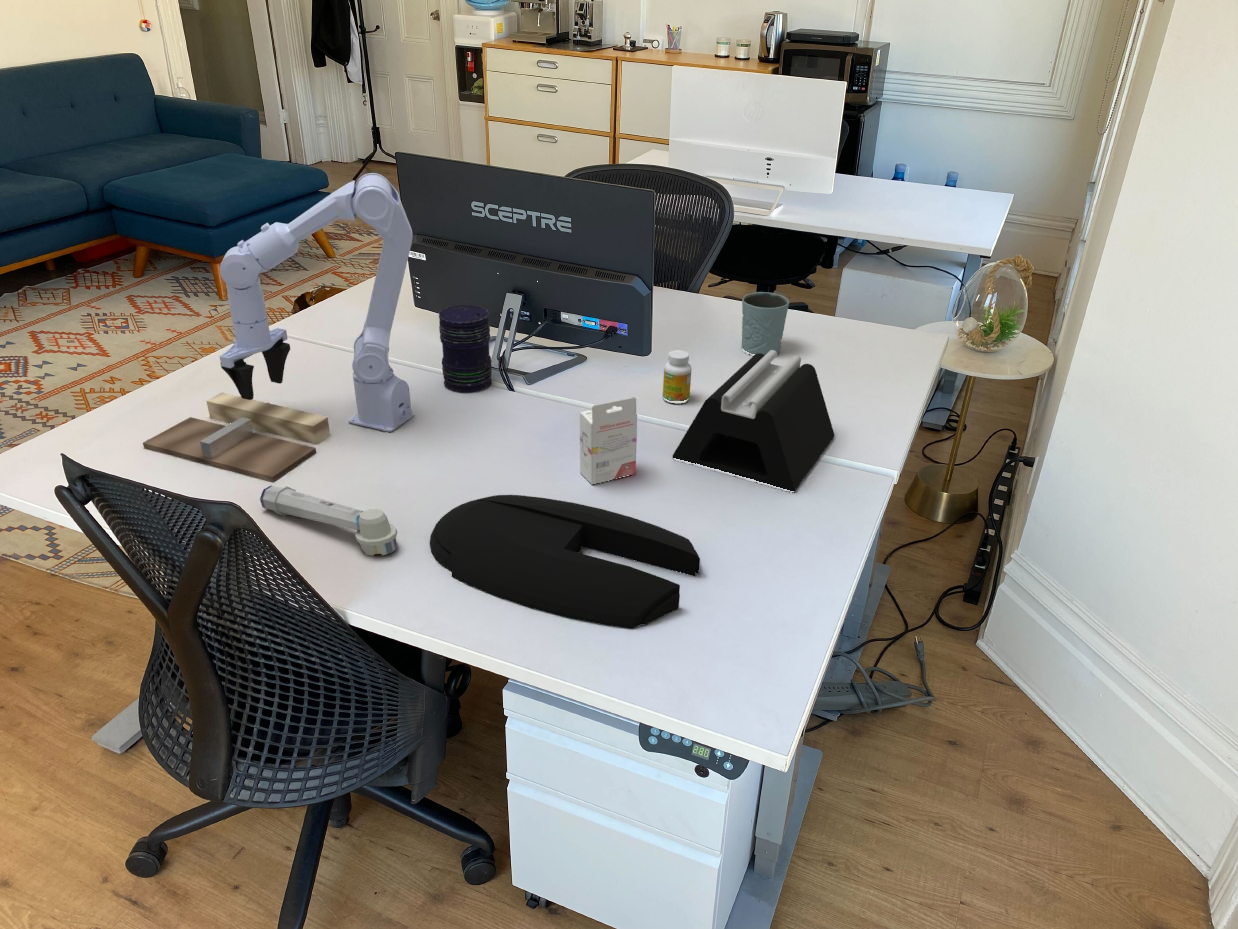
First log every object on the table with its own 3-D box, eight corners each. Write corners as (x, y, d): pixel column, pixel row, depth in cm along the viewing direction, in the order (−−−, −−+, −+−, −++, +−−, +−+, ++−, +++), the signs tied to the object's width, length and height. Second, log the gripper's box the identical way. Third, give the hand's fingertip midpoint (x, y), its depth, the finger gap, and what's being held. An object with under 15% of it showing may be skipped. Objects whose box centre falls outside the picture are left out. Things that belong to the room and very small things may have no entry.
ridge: (253, 434, 163) (250, 419, 162) (212, 459, 155) (209, 443, 154) (244, 432, 164) (241, 417, 163) (203, 456, 156) (199, 441, 155)
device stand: (833, 440, 170) (845, 365, 163) (794, 495, 153) (805, 414, 145) (721, 412, 179) (728, 340, 172) (672, 461, 162) (677, 383, 154)
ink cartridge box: (622, 462, 160) (625, 385, 153) (636, 475, 156) (639, 397, 149) (578, 472, 157) (578, 394, 149) (591, 486, 153) (592, 407, 146)
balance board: (316, 452, 160) (315, 447, 160) (273, 482, 151) (272, 476, 151) (191, 421, 169) (190, 417, 169) (143, 447, 160) (142, 442, 160)
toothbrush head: (279, 478, 145) (398, 503, 134) (290, 514, 148) (407, 542, 137) (253, 493, 141) (373, 520, 130) (264, 530, 144) (383, 560, 133)
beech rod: (330, 436, 166) (327, 417, 164) (316, 446, 163) (313, 426, 161) (226, 411, 174) (222, 392, 172) (210, 420, 171) (206, 400, 169)
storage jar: (436, 391, 183) (430, 320, 176) (451, 371, 192) (447, 303, 184) (484, 395, 182) (481, 324, 175) (498, 375, 191) (495, 307, 183)
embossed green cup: (784, 344, 209) (790, 294, 204) (781, 361, 201) (787, 309, 195) (740, 340, 211) (745, 289, 205) (735, 356, 203) (739, 304, 197)
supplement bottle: (658, 402, 182) (660, 356, 177) (667, 391, 186) (670, 346, 181) (684, 407, 180) (687, 361, 175) (692, 396, 184) (696, 351, 180)
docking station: (481, 489, 152) (479, 463, 150) (715, 548, 139) (717, 520, 137) (393, 570, 132) (390, 541, 130) (657, 648, 119) (659, 618, 117)
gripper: (260, 301, 165) (272, 371, 172) (200, 328, 153) (215, 401, 160) (292, 308, 163) (302, 378, 170) (233, 335, 151) (247, 409, 158)
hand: (262, 390), depth 165 cm, fingers open, 7 cm apart
